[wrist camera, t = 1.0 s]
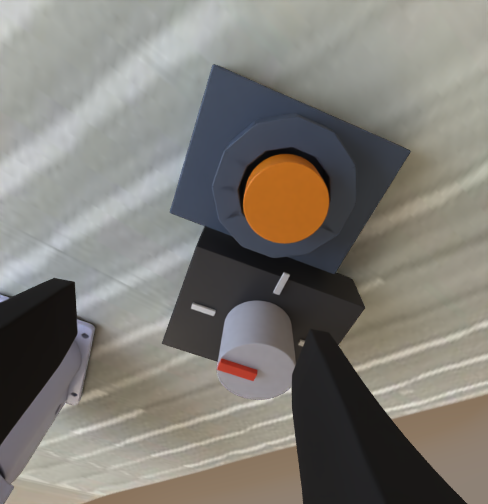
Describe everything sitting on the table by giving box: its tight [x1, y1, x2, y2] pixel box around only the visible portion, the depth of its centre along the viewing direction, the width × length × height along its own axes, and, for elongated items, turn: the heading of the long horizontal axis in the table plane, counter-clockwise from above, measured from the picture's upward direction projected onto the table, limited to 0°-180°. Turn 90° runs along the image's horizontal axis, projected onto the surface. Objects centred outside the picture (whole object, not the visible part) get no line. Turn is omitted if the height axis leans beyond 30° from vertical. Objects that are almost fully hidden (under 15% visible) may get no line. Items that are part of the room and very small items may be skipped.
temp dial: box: [217, 301, 296, 400], centre depth 17 cm, size 4×4×4 cm
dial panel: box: [162, 226, 365, 363], centre depth 20 cm, size 10×8×3 cm
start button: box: [243, 154, 329, 244], centre depth 14 cm, size 4×4×2 cm
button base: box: [170, 64, 411, 274], centre depth 16 cm, size 10×8×4 cm
